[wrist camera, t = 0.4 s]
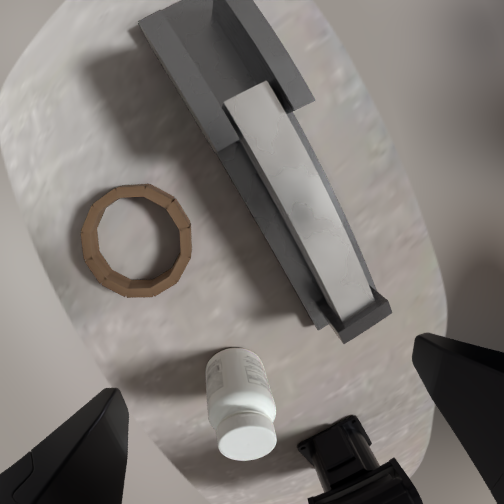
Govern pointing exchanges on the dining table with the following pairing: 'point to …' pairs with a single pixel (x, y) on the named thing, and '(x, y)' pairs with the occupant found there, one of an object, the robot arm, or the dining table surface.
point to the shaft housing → (229, 85)
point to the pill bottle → (240, 404)
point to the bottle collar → (102, 268)
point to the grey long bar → (306, 210)
